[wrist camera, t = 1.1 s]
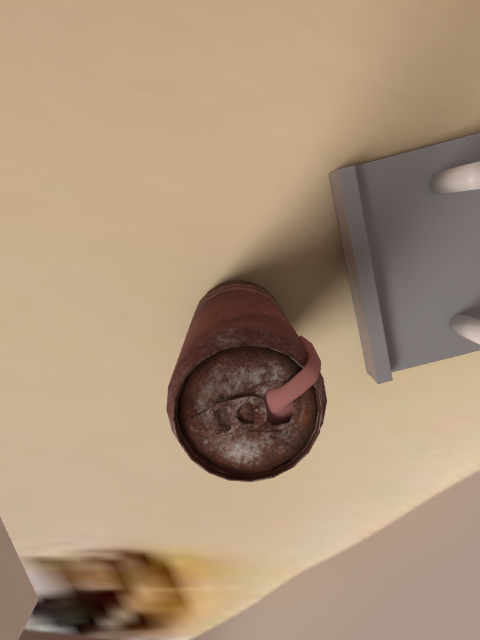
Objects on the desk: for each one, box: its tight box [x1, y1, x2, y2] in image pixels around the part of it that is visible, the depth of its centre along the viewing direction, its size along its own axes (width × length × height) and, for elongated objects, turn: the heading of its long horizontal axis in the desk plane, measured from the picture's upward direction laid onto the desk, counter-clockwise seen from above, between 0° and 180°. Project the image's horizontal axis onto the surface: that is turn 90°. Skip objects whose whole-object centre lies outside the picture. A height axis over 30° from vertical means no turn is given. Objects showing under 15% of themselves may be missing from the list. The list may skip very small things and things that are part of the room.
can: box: [167, 281, 327, 482], centre depth 21 cm, size 6×6×14 cm
